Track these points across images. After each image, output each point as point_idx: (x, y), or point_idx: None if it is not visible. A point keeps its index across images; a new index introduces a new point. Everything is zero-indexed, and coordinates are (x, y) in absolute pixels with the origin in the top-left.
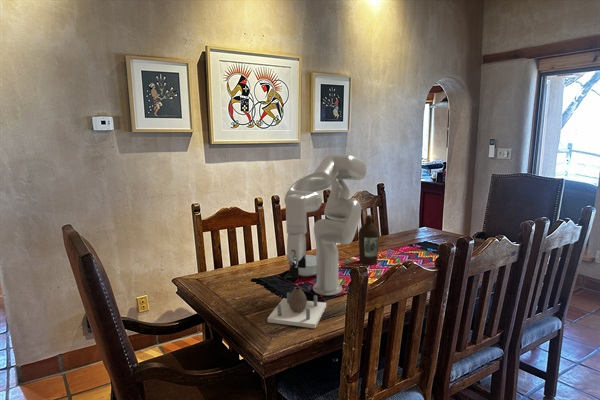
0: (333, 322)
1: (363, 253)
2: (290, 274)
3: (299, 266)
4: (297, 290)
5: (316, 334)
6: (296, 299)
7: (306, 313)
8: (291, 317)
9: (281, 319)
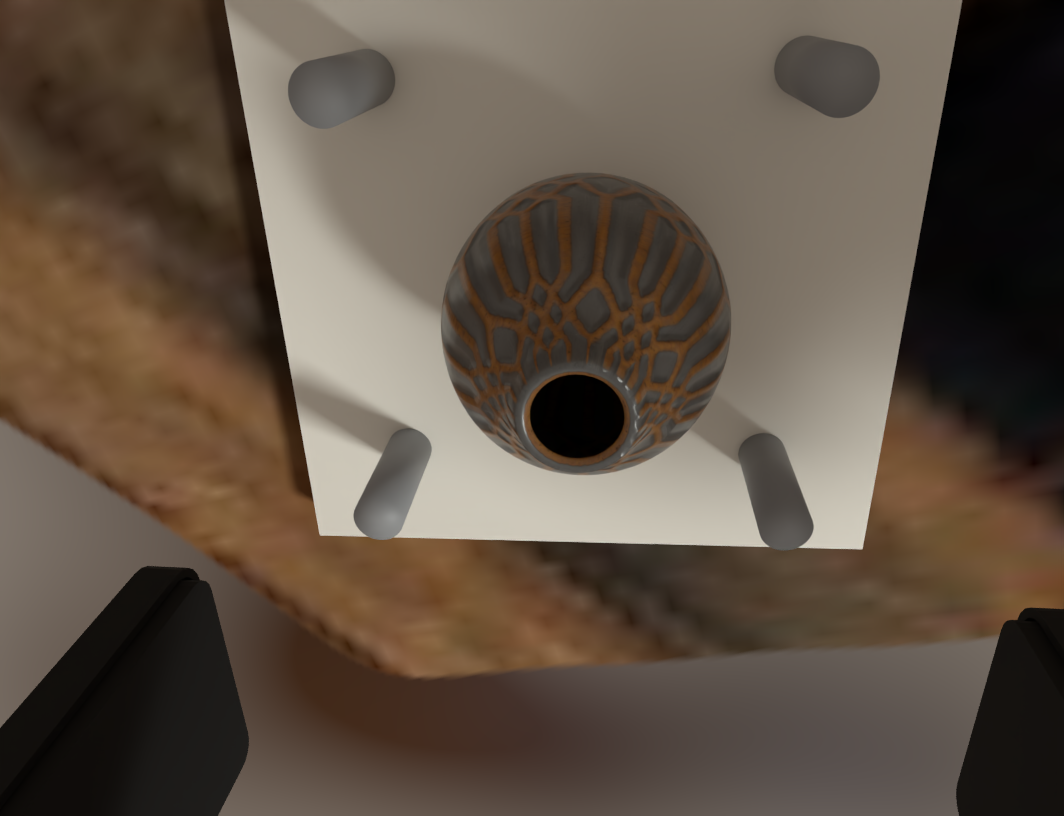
0: (502, 631)
1: None
2: (102, 634)
3: (1009, 691)
4: (515, 428)
5: (235, 539)
6: (450, 373)
7: (376, 469)
8: (366, 259)
9: (267, 150)
